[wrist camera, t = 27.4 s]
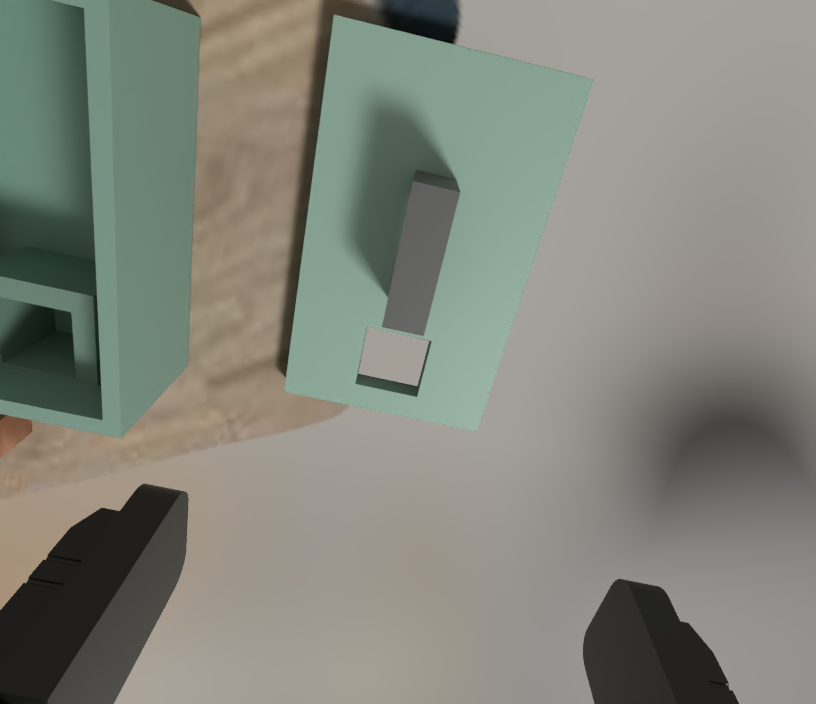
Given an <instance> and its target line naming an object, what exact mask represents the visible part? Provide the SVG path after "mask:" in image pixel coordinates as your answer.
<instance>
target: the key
mask: <svg viewBox="0 0 816 704" xmlns="http://www.w3.org/2000/svg"><path fill="white" fill-rule="evenodd" d="M31 432H32V425H31V420H28V419H23V418H18V417H13V416H8V415H3V414H0V458H1V457H2V456H3V455H5V454H6V453H7V452H8V451H10V450H11V449H12V448H13V447H14V446H16V445H17V444H18V443H19V442H20V441H22V440H23V439H24V438H25V437H26V436H28V435H29V434H30V433H31Z"/></svg>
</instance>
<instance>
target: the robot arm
mask: <svg viewBox="0 0 816 704" xmlns="http://www.w3.org/2000/svg"><path fill="white" fill-rule="evenodd" d="M187 518H188V494H187V492H184V491H179V490H174V489H168V488H163V487H159V486H154V485H148V484H142V485H141V486H140V487H138V488H137V490H136V491H135V492H134V493H133V495H132V496H131V497H130V498H129V500H128V501H127V502H126V504H125V505H124V506H123V508H122V509H121V510H120V511H115V510H110V509H105V508H101V509H99V510H98V511H96V512H94V513H93V514H91V515H90V516H88V517H87V518H85V519H83V520H82V521H80V522H79V523H77V524H76V525H74V526H73V527H71V528H70V529H69V530H68V532H67V533H66V534H65V535H64V536H63V537H62V539H61V540H60V541H59V542H58V543H57V544H56V546H55V547H54V548H53V549H52V550H51V551H50V553H49V554H48V557H47V559H46V560H43V561H42V562H41V563H40V564H39V566H38V567H37V568H36V569H35V570H34V571H33V573H32V574H31V575H30V576H29V579H28V581H27V583H23V584H22V586H21V587H20V588H19V589H18V590H17V592H16V593H15V594H14V595H13V596H12V597H11V599H10V600H9V601H8V602H7V603H6V604H5V606H4V607H3V608H2V609H1V610H0V704H113V703H114V702H115V700H116V698H117V696H118V694H119V693H120V691H121V688H122V687H123V685H124V683H125V681H126V679H127V677H128V676H129V674H130V672H131V670H132V668H133V666H134V664H135V662H136V660H137V659H138V657H139V655H140V653H141V651H142V649H143V647H144V645H145V643H146V641H147V640H148V638H149V636H150V634H151V632H152V630H153V628H154V626H155V624H156V623H157V621H158V619H159V617H160V615H161V613H162V611H163V609H164V608H165V606H166V604H167V602H168V600H169V598H170V596H171V594H172V592H173V591H174V589H175V586H176V584H177V582H178V580H179V577H180V574H181V571H182V568H183V564H184V560H185V555H186V542H187V520H188V519H187ZM583 658H584V665H585V669H586V673H587V677H588V680H589V685H590V688H591V691H592V695H593V699H594V703H595V704H739V703H738V701H737V699H736V697H735V695H734V693H733V691H731V690H729V683H728V681H727V679H726V677H725V675H724V673H723V671H722V669H721V667H720V666H719V663H718V661H717V659H716V657H715V656H714V654H713V652H712V651H711V649H710V648H709V647H708V646H707V645H706V643H704V641H703V640H702V639H701V638H700V636H699V635H698V634H697V633H696V632H695V630H694V629H693V628H692V627H691V626H690V624H689V623H685V622H680V620H679V618H678V616H677V614H676V612H675V610H674V608H673V605H672V604H671V601H670V599H669V597H668V595H667V594H666V592H665V591H664V590H663V589H662V588H660V587H658V586H653V585H648V584H643V583H638V582H633V581H628V580H623V579H618V580H616V581H615V582H614V583H613V584H612V586H611V587H610V589H609V591H608V593H607V594H606V596H605V598H604V600H603V602H602V603H601V605H600V607H599V609H598V611H597V612H596V614H595V616H594V618H593V619H592V621H591V623H590V625H589V627H588V629H587V631H586V633H585V637H584V644H583Z"/></svg>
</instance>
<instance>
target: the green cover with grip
mask: <svg viewBox="0 0 816 704" xmlns="http://www.w3.org/2000/svg"><path fill="white" fill-rule="evenodd" d="M592 83H593V79H590V78H586V77H582V76H578V75H574V74H570V73H566V72H562V71H558V70H554V69H550V68H546V67H542V66H538V65H534V64H530V63H526V62H521V61H518V60H514V59H510V58H506V57H502V56H498V55H493V54H490V53H486V52H482V51H478V50H473V49H470V48H466V47H462V46H458V45H454V44H450V43H446V42H442V41H438V40H434V39H430V38H426V37H422V36H418V35H414V34H410V33H406V32H402V31H398V30H394V29H390V28H386V27H382V26H378V25H374V24H370V23H366V22H362V21H358V20H354V19H350V18H346V17H342V16H338V15H334V18H333V25H332V33H331V40H330V48H329V55H328V63H327V71H326V78H325V86H324V93H323V101H322V108H321V116H320V124H319V131H318V139H317V146H316V154H315V161H314V169H313V177H312V184H311V192H310V199H309V207H308V214H307V222H306V229H305V237H304V245H303V252H302V260H301V267H300V275H299V282H298V290H297V298H296V305H295V313H294V320H293V328H292V335H291V343H290V351H289V358H288V366H287V373H286V381H285V388H284V392H289V393H293V394H298V395H303V396H308V397H312V398H317V399H322V400H327V401H332V402H336V403H341V404H346V405H351V406H355V407H360V408H365V409H370V410H375V411H380V412H384V413H389V414H394V415H399V416H403V417H408V418H413V419H418V420H423V421H428V422H432V423H437V424H442V425H446V426H451V427H456V428H461V429H466V430H471V431H475V432H477V429H478V426H479V423H480V420H481V417H482V414H483V411H484V408H485V405H486V402H487V399H488V396H489V393H490V390H491V387H492V384H493V381H494V378H495V375H496V372H497V369H498V366H499V363H500V360H501V357H502V354H503V351H504V348H505V345H506V342H507V339H508V336H509V333H510V330H511V327H512V324H513V321H514V318H515V315H516V312H517V309H518V306H519V303H520V300H521V297H522V294H523V291H524V288H525V285H526V282H527V279H528V276H529V273H530V270H531V267H532V264H533V261H534V258H535V255H536V252H537V249H538V245H539V243H540V240H541V237H542V233H543V230H544V228H545V224H546V222H547V218H548V216H549V213H550V210H551V206H552V203H553V200H554V197H555V194H556V191H557V188H558V185H559V182H560V179H561V176H562V173H563V170H564V167H565V164H566V161H567V158H568V155H569V152H570V149H571V146H572V143H573V140H574V137H575V134H576V131H577V128H578V125H579V122H580V119H581V116H582V113H583V110H584V107H585V104H586V101H587V98H588V95H589V92H590V89H591V86H592ZM367 327H369V328H374V329H379V330H383V331H387V332H392V333H397V334H402V335H406V336H410V337H415V338H420V339H424V340H429V341H430V342H429V345H428V349H427V353H426V356H425V361H424V364H423V368H422V372H421V376H420V380H419V383H418V386H413V385H408V384H404V383H398V382H394V381H389V380H385V379H380V378H375V377H370V376H366V375H361V374H358V372H359V367H360V362H361V357H362V352H363V347H364V342H365V337H366V332H367Z"/></svg>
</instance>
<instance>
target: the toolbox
mask: <svg viewBox="0 0 816 704" xmlns="http://www.w3.org/2000/svg"><path fill="white" fill-rule="evenodd" d="M200 21H201V18H200V17H198V16H195V15H192V14H189V13H186V12H184V11H181V10H178V9H175V8H172V7H170V6H167V5H164V4H161V3H158V2H156V1H153V0H0V414H3V415H8V416H13V417H18V418H23V419H28V420H33V421H38V422H43V423H48V424H53V425H58V426H63V427H68V428H73V429H78V430H83V431H88V432H93V433H98V434H103V435H107V436H112V437H117V438H122V437H123V436H124V434H125V433H126V432H127V431H128V430H129V429H130V428H131V427H132V426H133V425H134V424H135V423H136V422H137V420H138V419H139V418H140V417H141V416H142V415H143V414H144V413H145V412H146V411H147V410H148V409H149V407H150V406H151V405H152V404H153V403H154V402H155V401H156V400H157V399H158V398H159V397H160V396H161V394H162V393H163V392H164V391H165V390H166V389H167V388H168V387H169V386H170V385H171V384H172V383H173V381H174V380H175V379H176V378H177V377H178V376H179V375H180V374H181V373H182V372H183V371H184V370H185V368H186V367H187V366H188V341H189V314H190V287H191V261H192V234H193V207H194V181H195V154H196V127H197V101H198V74H199V47H200Z"/></svg>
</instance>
